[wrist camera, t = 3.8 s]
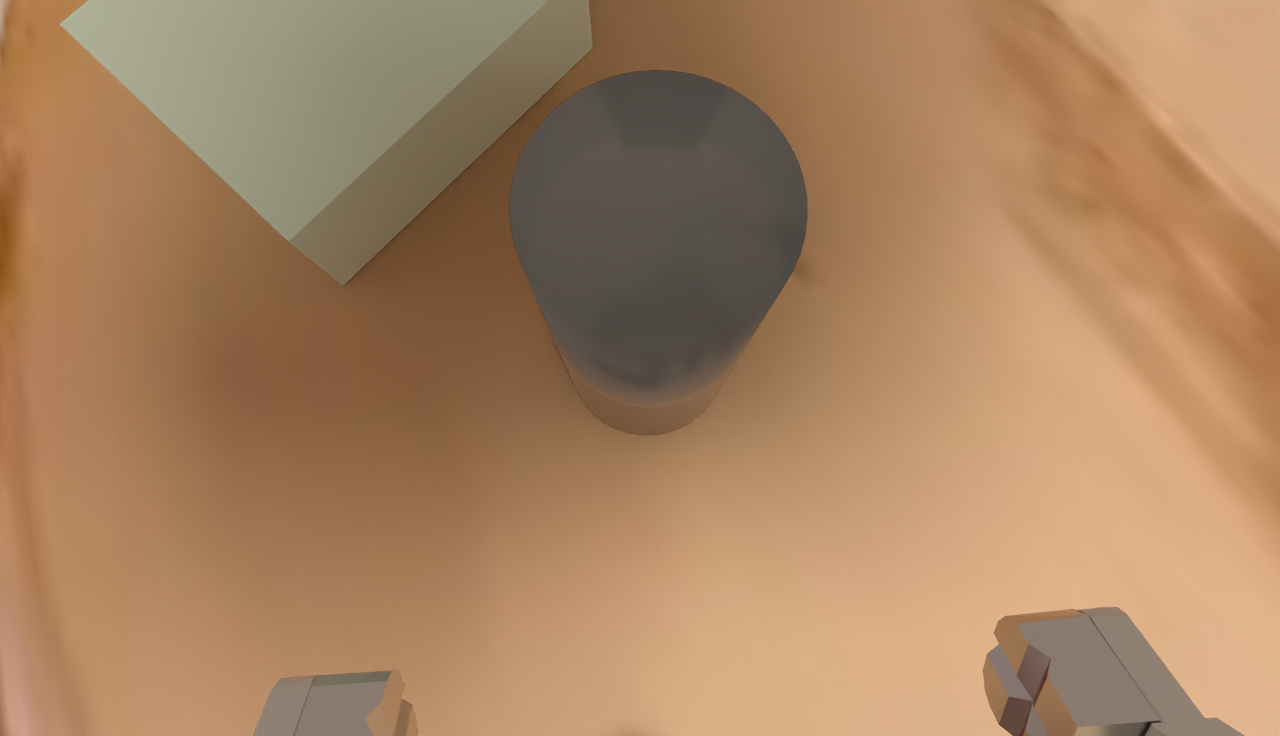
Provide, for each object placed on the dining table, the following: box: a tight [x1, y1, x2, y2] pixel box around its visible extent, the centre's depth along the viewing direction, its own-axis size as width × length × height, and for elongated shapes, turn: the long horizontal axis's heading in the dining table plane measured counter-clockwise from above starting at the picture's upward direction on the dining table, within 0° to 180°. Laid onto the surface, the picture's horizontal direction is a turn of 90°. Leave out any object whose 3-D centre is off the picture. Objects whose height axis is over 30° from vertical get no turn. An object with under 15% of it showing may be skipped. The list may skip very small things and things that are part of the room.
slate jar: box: [509, 70, 807, 435], centre depth 18 cm, size 5×5×12 cm
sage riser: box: [60, 0, 593, 286], centre depth 24 cm, size 12×10×4 cm
